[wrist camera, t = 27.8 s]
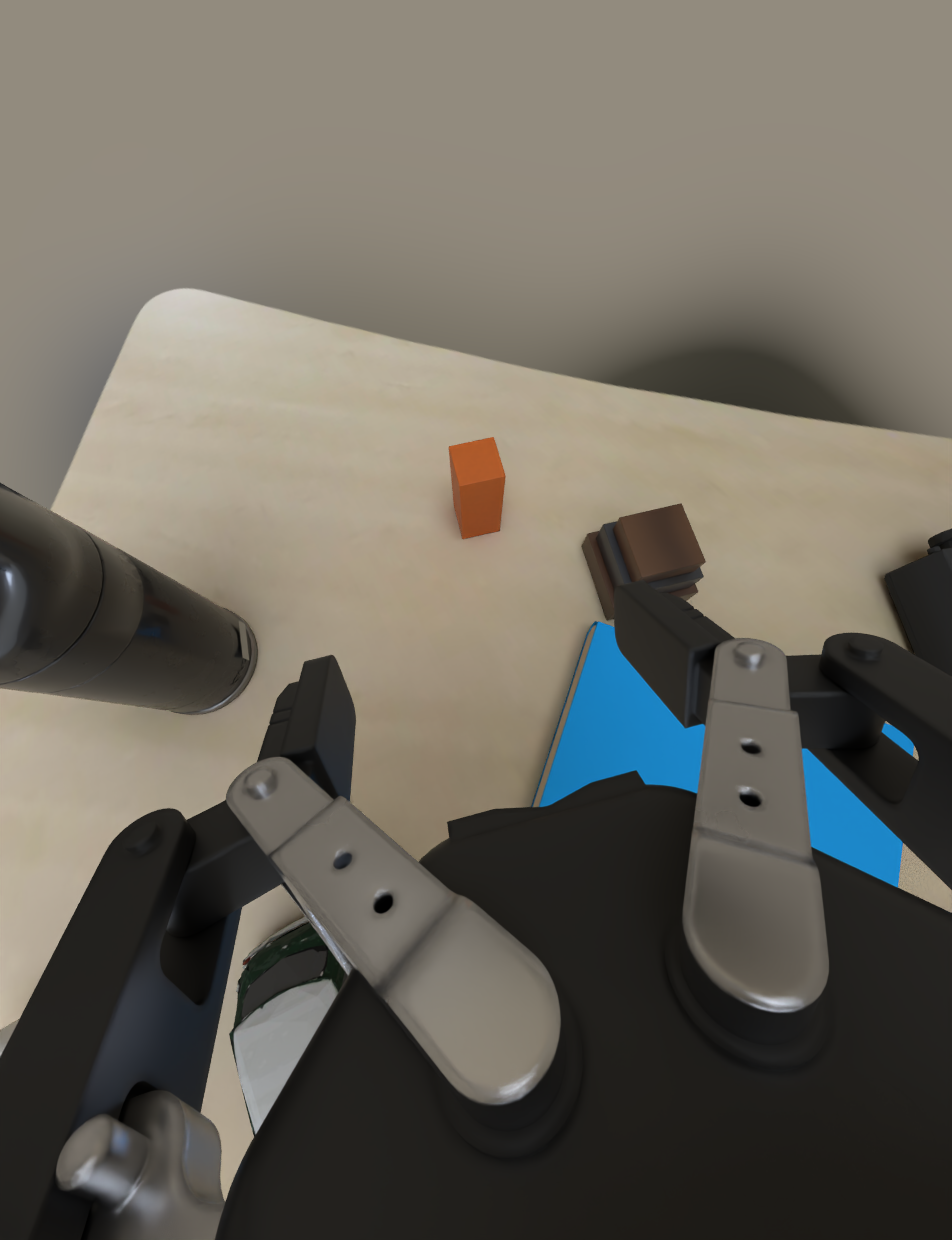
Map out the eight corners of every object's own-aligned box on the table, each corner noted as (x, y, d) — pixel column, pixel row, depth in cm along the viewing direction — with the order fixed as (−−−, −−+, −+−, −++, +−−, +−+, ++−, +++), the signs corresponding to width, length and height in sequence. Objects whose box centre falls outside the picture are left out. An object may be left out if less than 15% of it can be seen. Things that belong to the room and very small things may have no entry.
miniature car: (337, 1230, 30) (290, 1395, 22) (249, 941, 34) (184, 996, 27) (463, 1152, 31) (458, 1285, 23) (361, 882, 36) (330, 918, 28)
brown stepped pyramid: (606, 620, 41) (632, 595, 34) (581, 545, 43) (600, 507, 36) (685, 601, 42) (726, 572, 35) (657, 528, 44) (690, 487, 37)
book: (891, 973, 31) (531, 833, 33) (841, 946, 35) (524, 823, 37) (917, 724, 35) (599, 613, 37) (869, 726, 39) (585, 627, 41)
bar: (462, 539, 43) (459, 486, 35) (453, 505, 44) (448, 446, 36) (499, 530, 44) (505, 476, 35) (490, 497, 45) (493, 436, 36)
